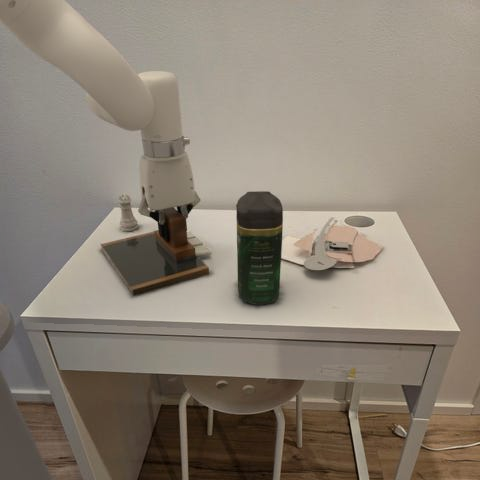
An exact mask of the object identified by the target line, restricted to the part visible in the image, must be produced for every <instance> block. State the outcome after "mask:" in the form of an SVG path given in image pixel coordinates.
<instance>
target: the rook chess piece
mask: <svg viewBox="0 0 480 480" xmlns="http://www.w3.org/2000/svg"><path fill="white" fill-rule="evenodd" d="M132 201H133V200H132V198H131V196H130V195H128V194H125V195H124V194H121V195H118V199H117V203H118V204H119V209H120V211H121V212H120V213H121V218H120V221H119V226H120V227H119V228H120V230H122V231H123V232H133V231H136V230H137V229H138V228H139V227H140V226H139V224H138V222H139V221H138V220H137V219H136V217H135V216H134V213H133V210H132V204H131V202H132Z"/></svg>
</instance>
